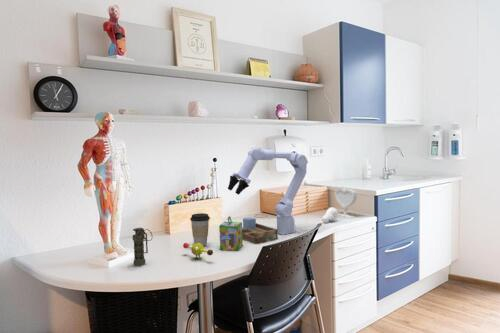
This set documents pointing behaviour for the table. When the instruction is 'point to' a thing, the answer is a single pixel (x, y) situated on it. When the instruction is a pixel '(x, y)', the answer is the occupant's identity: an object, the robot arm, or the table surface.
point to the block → (249, 223)
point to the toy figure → (197, 249)
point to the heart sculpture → (345, 199)
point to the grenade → (139, 246)
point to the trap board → (259, 234)
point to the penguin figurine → (330, 215)
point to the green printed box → (230, 235)
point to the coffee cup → (200, 228)
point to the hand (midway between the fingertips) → (233, 191)
